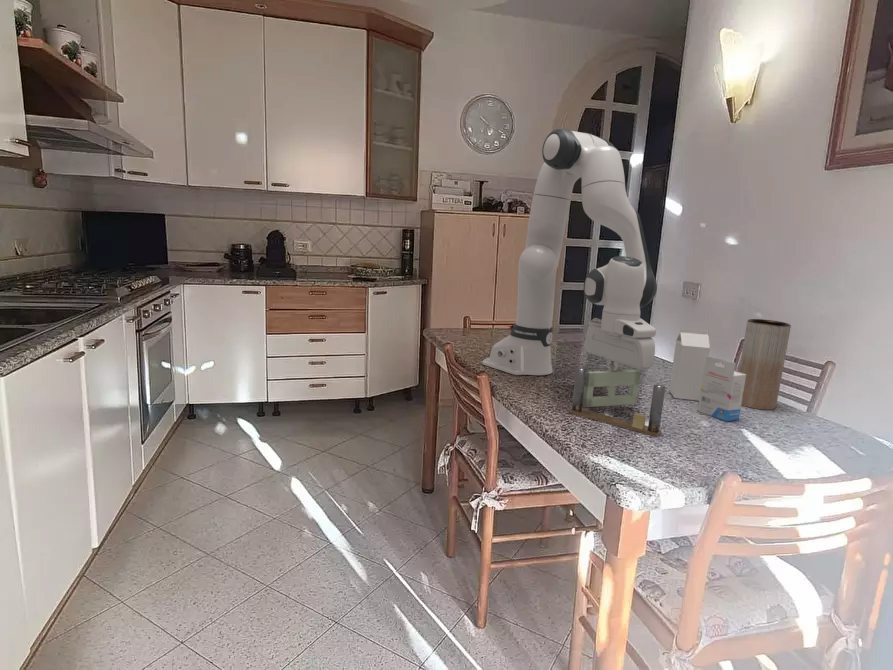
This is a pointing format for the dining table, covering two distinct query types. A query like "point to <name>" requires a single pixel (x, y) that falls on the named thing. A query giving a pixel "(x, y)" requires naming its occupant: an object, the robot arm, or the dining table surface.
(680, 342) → the milk carton
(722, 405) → the ink box
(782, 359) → the planter
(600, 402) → the gate
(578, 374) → the drawknife
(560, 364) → the dining table surface
